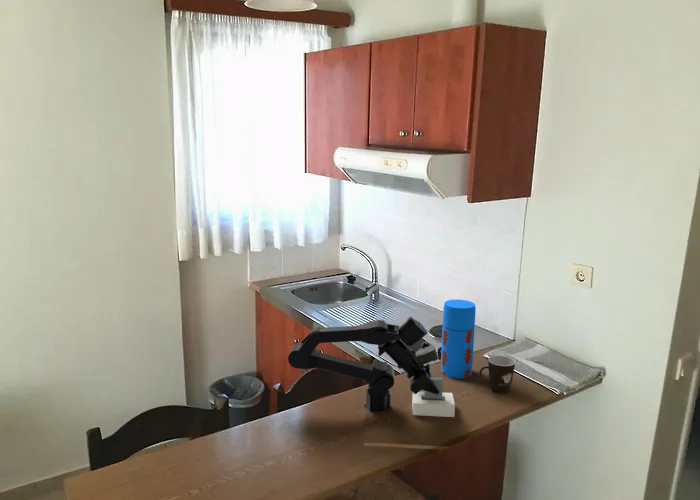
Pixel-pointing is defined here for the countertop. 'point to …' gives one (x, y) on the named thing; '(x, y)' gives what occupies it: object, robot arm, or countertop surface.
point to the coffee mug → (500, 373)
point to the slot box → (433, 405)
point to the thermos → (458, 338)
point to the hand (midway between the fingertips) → (438, 391)
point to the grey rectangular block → (439, 384)
